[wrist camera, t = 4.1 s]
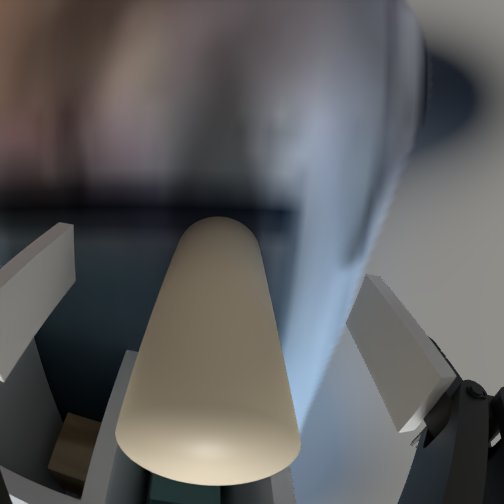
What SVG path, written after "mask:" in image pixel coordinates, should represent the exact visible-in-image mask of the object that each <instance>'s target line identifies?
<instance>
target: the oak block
mask: <svg viewBox="0 0 504 504" xmlns="http://www.w3.org/2000/svg"><path fill="white" fill-rule="evenodd" d="M101 424H102V422H98V421H95V420H91V419H88V418H84V417H81V416H78V415H75V414H71V413H68V414H67V416H66V419H65V421H64V424H63V426H62V429H61V431H60V434H59V437H58V439H57V442H56V445H55V448H54V450H53V453H52V456H51V459H50V462H49V465H48V469H49V471H50V472H51V473H52V475H53V476H54V477H55V479H56V480H57V481H58V483H59V484H60V485H61V486H62V488H63V489H64V490H66V491H69V492H72V493H75V494H77V495H80V496H82V493H83V489H84V485H85V481H86V477H87V473H88V469H89V465H90V462H91V458H92V454H93V451H94V447H95V444H96V440H97V437H98V434H99V430H100V427H101Z"/></svg>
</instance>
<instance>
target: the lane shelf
mask: <svg viewBox="0 0 504 504" xmlns="http://www.w3.org/2000/svg"><path fill="white" fill-rule="evenodd" d="M137 355H138V352H136V351H131V350H126V353H125V355H124V358H123V361H122V364H121V366H120V369H119V372H118V375H117V378H116V381H115V384H114V387H113V390H112V392H111V395H110V399H109V402H108V405H107V408H106V411H105V414H104V417H103V420H102V424H101V427H100V430H99V434H98V437H97V440H96V444H95V447H94V451H93V454H92V458H91V462H90V465H89V469H88V473H87V477H86V481H85V485H84V489H83V493H82V496H80V495H77V494H75V493H72V492H69V491H66V490H64V489H63V488H62V486H61V485H60V484H59V483H58V481H57V480H56V479H55V477H54V476H53V475H52V473H51V472H50V471H49V469H48V465H49V462H50V459H51V456H52V453H53V450H54V448H55V445H56V442H57V439H58V437H59V434H60V431H61V429H62V426H63V424H64V423H63V421H62V419H61V416H60V414H59V411H58V409H57V406H56V404H55V401H54V398H53V396H52V393H51V390H50V387H49V385H48V382H47V379H46V376H45V373H44V370H43V366H42V363H41V360H40V357H39V353H38V350H37V346H36V342H35V339H34V337H33V339H32V340H31V342H30V343H29V345H28V346H27V348H26V349H25V351H24V352H23V354H22V355H21V357H20V358H19V360H18V361H17V363H16V364H15V366H14V367H13V369H12V371H11V372H10V374H9V375H8V377H7V379H6V380H5V382H2V381H0V470H1V473H2V476H3V479H4V482H5V485H6V488H7V490H8V493H9V496H10V498H11V501H12V503H13V504H151V502H150V492H151V484H152V476H153V472H150V471H149V470H147V469H145V468H143V467H142V466H140V465H138V464H137V463H135V462H134V461H133V460H131V459H130V458H129V457H128V456H127V455H126V454H125V453H124V452H123V451H122V449H121V448H120V446H119V445H118V442H117V440H116V434H115V431H116V426H117V422H118V419H119V415H120V412H121V408H122V404H123V401H124V398H125V394H126V391H127V387H128V384H129V381H130V378H131V374H132V371H133V368H134V365H135V362H136V358H137ZM220 504H296V499H295V494H294V487H293V481H292V475H291V470H290V465H288V466H287V467H286V468H284V469H283V470H281V471H279V472H278V473H276V474H274V475H271V476H269V477H266V478H263V479H260V480H257V481H253V482H249V483H243V484H236V485H222V486H220Z"/></svg>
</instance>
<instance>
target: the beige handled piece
mask: <svg viewBox="0 0 504 504" xmlns="http://www.w3.org/2000/svg"><path fill="white" fill-rule="evenodd" d="M115 434H116V440H117V442H118V445H119V446H120V448H121V449H122V451H123V452H124V453H125V454H126V455H127V456H128V457H129V458H130V459H131V460H133V461H134V462H135V463H137V464H138V465H140V466H142V467H143V468H145V469H147V470H149V471H151V472H153V476H152V484H151V492H150V502H151V504H220V486H222V485H236V484H243V483H249V482H253V481H257V480H260V479H263V478H266V477H269V476H271V475H274V474H276V473H278V472H279V471H281V470H283V469H284V468H286V467H287V466H288V465H290V464H291V463H292V462H293V461H294V460H295V458H296V457H297V455H298V454H299V451H300V448H301V440H300V435H299V430H298V425H297V421H296V416H295V411H294V406H293V401H292V396H291V392H290V387H289V382H288V377H287V372H286V368H285V363H284V358H283V353H282V349H281V344H280V339H279V335H278V330H277V325H276V320H275V316H274V311H273V306H272V302H271V297H270V293H269V288H268V283H267V279H266V274H265V269H264V265H263V260H262V256H261V251H260V247H259V243H258V241H257V239H256V237H255V236H254V234H253V233H252V232H251V230H250V229H249V228H247V227H246V226H245V225H244V224H242V223H240V222H239V221H237V220H234V219H231V218H227V217H220V216H218V217H208V218H204V219H202V220H199V221H197V222H195V223H194V224H192V225H191V226H190V227H188V228H187V230H186V231H185V232H184V233H183V234H182V236H181V238H180V240H179V242H178V245H177V247H176V250H175V252H174V255H173V257H172V260H171V262H170V265H169V268H168V270H167V273H166V276H165V278H164V281H163V284H162V286H161V289H160V292H159V294H158V297H157V300H156V303H155V305H154V308H153V311H152V314H151V317H150V320H149V322H148V325H147V328H146V331H145V334H144V337H143V340H142V343H141V346H140V349H139V352H138V355H137V358H136V362H135V365H134V368H133V371H132V374H131V378H130V381H129V384H128V387H127V391H126V394H125V398H124V401H123V404H122V408H121V412H120V415H119V419H118V422H117V426H116V431H115Z"/></svg>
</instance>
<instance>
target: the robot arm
mask: <svg viewBox="0 0 504 504" xmlns="http://www.w3.org/2000/svg"><path fill="white" fill-rule="evenodd" d="M75 281H76V276H75V258H74V225H73V224H67V223H61V222H59V223H57V224H56V225H55V226H53V227H52V228H51V229H49V230H48V231H47V232H45V233H44V234H43V235H41V236H40V237H39V238H37V239H36V240H35V241H34V242H32V243H31V244H30V245H28V246H27V247H26V248H25V249H23V250H22V251H21V252H20V253H18V254H17V255H16V256H15V257H14V258H12V259H11V260H10V261H9V262H8V263H6V264H5V265H4V266H3V267H2V268H0V381H2V382H5V380H6V379H7V377H8V375H9V374H10V372H11V371H12V369H13V367H14V366H15V364H16V363H17V361H18V360H19V358H20V357H21V355H22V354H23V352H24V351H25V349H26V348H27V346H28V345H29V343H30V342H31V340H32V339H33V337H34V336H35V335H36V333H37V332H38V330H39V329H40V327H41V326H42V325H43V323H44V322H45V321H46V319H47V318H48V316H49V315H50V314H51V312H52V311H53V310H54V308H55V307H56V306H57V304H58V303H59V302H60V300H61V299H62V298H63V297H64V295H65V294H66V293H67V291H68V290H69V289H70V288H71V286H72V285H73V284H74V283H75ZM346 325H347V327H348V329H349V331H350V333H351V335H352V337H353V339H354V341H355V343H356V345H357V347H358V349H359V351H360V353H361V355H362V357H363V359H364V361H365V363H366V365H367V367H368V369H369V371H370V374H371V375H372V378H373V380H374V382H375V384H376V386H377V388H378V390H379V393H380V395H381V397H382V399H383V401H384V403H385V405H386V407H387V409H388V412H389V414H390V416H391V419H392V421H393V423H394V425H395V427H396V430H397V432H398V433H401V432H407V431H412V430H415V429H416V427H417V426H418V425H419V424H420V423H421V422H422V420H423V419H424V421H425V423H426V425H427V426H426V427H425V428H424V429H423V430H422V432H421V433H420V434H419V435H418V436H417V437H416V438H415V439H414V440H413V441H412V443H411V444H410V445H411V446H413V445H414V444H415V443H416V442H417V441H419V443H418V446H417V447H416V448H417V450H416V453H415V456H414V460H413V463H412V466H411V469H410V472H409V475H408V478H407V480H406V483H405V486H404V489H403V491H402V494H401V497H400V499H399V501H398V504H504V387H502V388H501V389H500V390H499V391H498V393H497V394H496V395H495V396H489V395H487V393H486V391H485V390H484V388H483V387H482V386H481V385H479V384H478V383H476V382H474V381H471V380H464V381H463V380H462V379H461V377H460V376H459V374H458V373H457V372H456V370H455V369H454V367H453V366H452V364H451V363H450V362H449V360H448V359H447V358H446V356H445V355H444V354H443V352H441V349H440V348H439V347H438V346H437V344H436V343H435V342H434V341H433V340H432V339H431V338H430V337H428V336H427V335H426V333H425V332H424V331H423V329H422V328H421V327H420V325H419V324H418V323H417V321H416V320H415V319H414V318H413V316H412V315H411V314H410V313H409V311H408V310H407V309H406V308H405V306H404V305H403V304H402V303H401V301H400V300H399V299H398V298H397V297H396V295H395V294H394V293H393V291H392V290H391V289H390V288H389V287H388V285H387V284H386V283H385V282H384V281H383V279H382V278H381V277H380V276H374V275H368V274H366V276H365V278H364V281H363V283H362V286H361V288H360V291H359V293H358V296H357V298H356V301H355V303H354V305H353V308H352V310H351V312H350V315H349V317H348V319H347V322H346ZM499 433H500V435H501V439H500V440H499V441H498V442H497V443H496V445H494V446H493V447H492V446H491V441H492V440H493V439H494V438H495V437H496V436H497V435H498V434H499ZM0 504H13V503H12V501H11V498H10V496H9V493H8V490H7V488H6V485H5V482H4V479H3V476H2V473H1V470H0Z"/></svg>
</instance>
